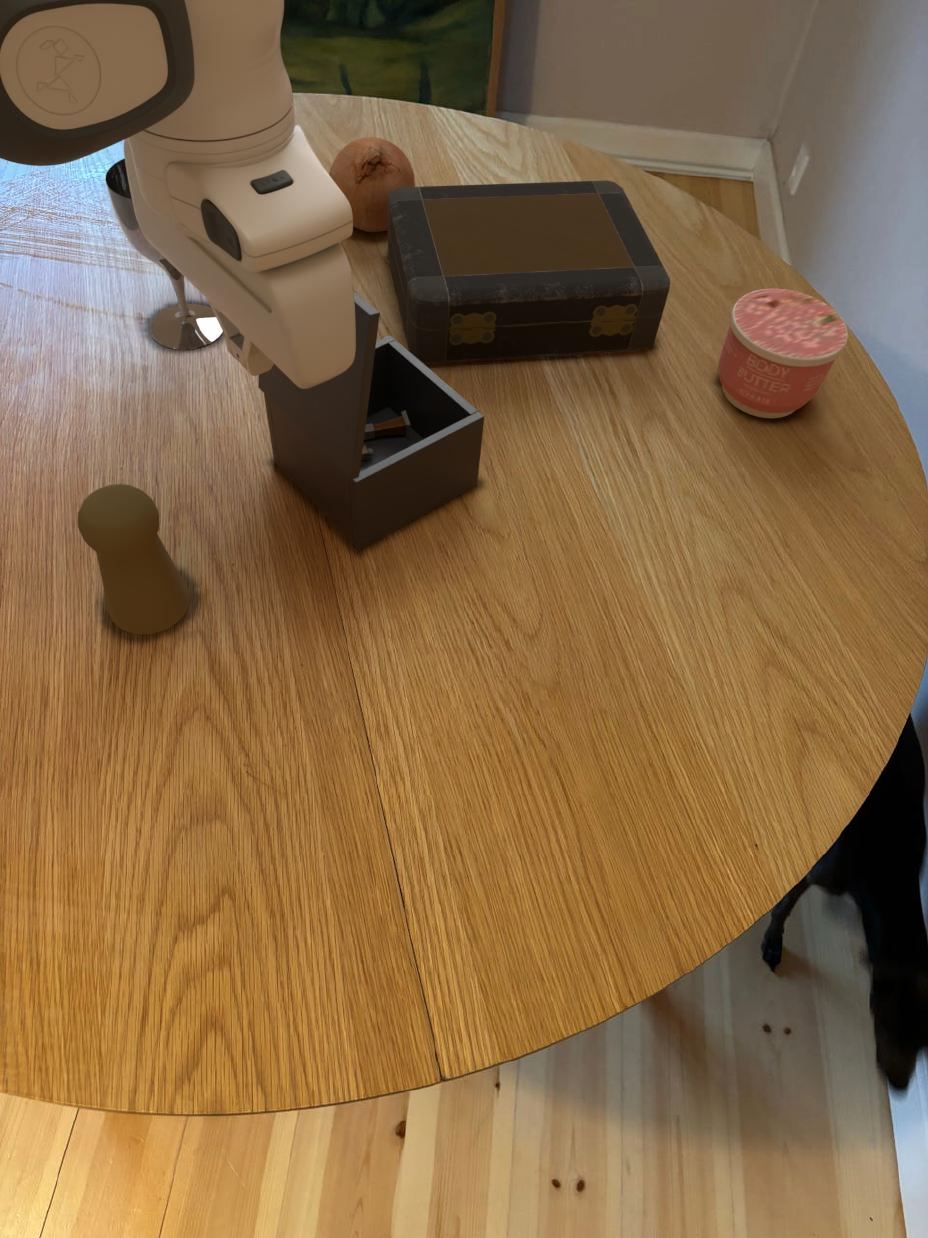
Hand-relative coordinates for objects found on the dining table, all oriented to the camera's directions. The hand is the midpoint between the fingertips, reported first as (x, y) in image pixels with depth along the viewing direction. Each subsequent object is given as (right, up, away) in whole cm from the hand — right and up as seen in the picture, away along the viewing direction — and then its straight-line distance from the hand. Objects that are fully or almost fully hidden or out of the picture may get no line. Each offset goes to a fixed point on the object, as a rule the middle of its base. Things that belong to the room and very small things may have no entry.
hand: (251, 361), depth 60 cm
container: (+43, +5, +27) cm, 51 cm away
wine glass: (-13, +11, +28) cm, 33 cm away
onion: (+4, +27, +40) cm, 49 cm away
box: (+7, -5, +17) cm, 19 cm away
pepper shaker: (-10, -16, +8) cm, 20 cm away
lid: (+4, +2, +3) cm, 5 cm away
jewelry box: (+20, +16, +34) cm, 42 cm away
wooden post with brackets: (+7, -3, +17) cm, 18 cm away
